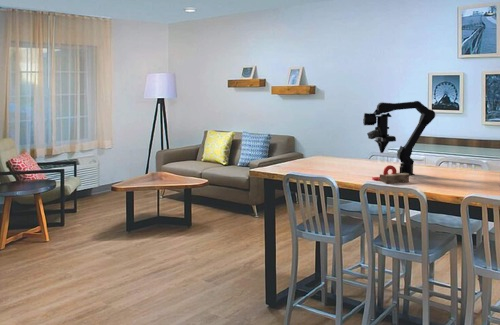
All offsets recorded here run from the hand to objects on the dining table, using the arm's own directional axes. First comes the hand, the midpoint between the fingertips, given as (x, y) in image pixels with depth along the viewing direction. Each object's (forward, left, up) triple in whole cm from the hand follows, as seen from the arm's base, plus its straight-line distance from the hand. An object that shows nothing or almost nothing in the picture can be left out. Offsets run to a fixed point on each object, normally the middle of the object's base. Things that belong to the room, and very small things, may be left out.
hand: (381, 152), depth 274 cm
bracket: (+6, +12, -13) cm, 19 cm away
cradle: (+5, +19, -12) cm, 23 cm away
